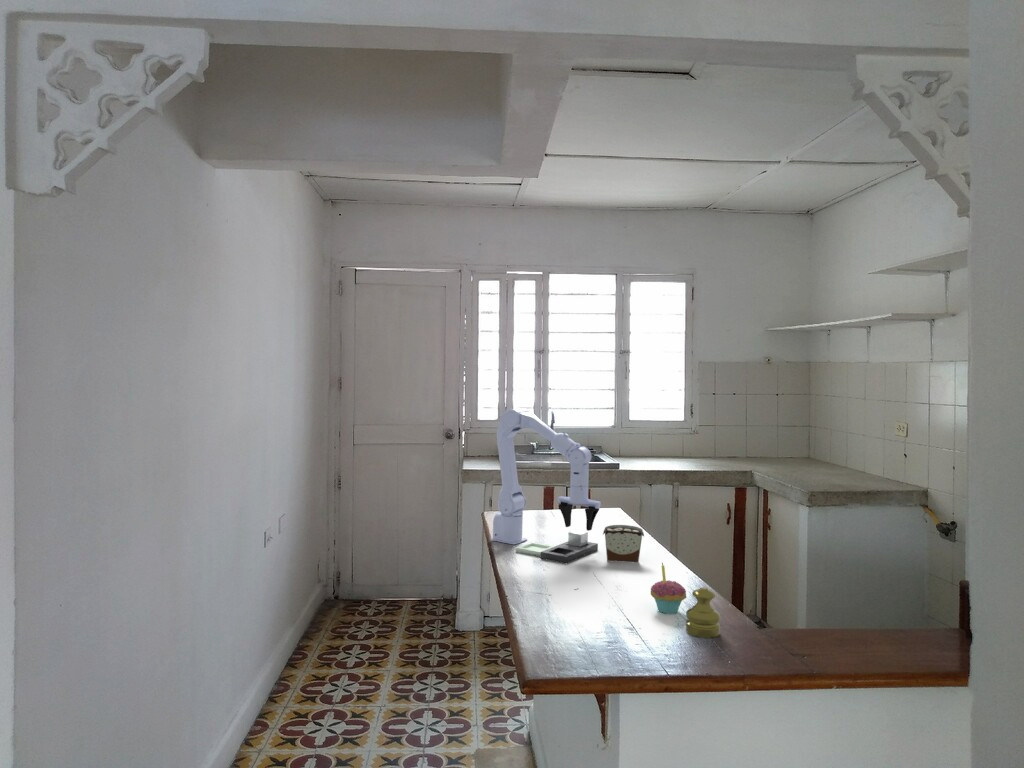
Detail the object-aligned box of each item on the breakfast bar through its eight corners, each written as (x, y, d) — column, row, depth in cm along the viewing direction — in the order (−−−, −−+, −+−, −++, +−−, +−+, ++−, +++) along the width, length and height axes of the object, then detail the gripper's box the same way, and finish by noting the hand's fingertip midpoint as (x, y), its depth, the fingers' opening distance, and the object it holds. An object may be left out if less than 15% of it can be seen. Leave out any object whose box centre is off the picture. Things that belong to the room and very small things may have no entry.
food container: (641, 557, 225) (642, 525, 225) (643, 563, 219) (644, 529, 219) (601, 555, 227) (602, 523, 226) (602, 561, 221) (602, 528, 220)
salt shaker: (714, 641, 159) (715, 596, 158) (681, 634, 162) (682, 589, 162) (724, 631, 165) (725, 587, 164) (691, 624, 169) (693, 581, 168)
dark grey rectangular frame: (540, 558, 222) (540, 551, 222) (573, 545, 238) (573, 539, 238) (566, 563, 217) (566, 556, 217) (597, 549, 233) (597, 543, 233)
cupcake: (665, 618, 172) (666, 568, 172) (642, 607, 180) (643, 559, 179) (693, 613, 176) (694, 564, 176) (670, 602, 184) (671, 555, 183)
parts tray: (516, 551, 229) (516, 547, 229) (531, 546, 236) (531, 541, 236) (540, 556, 224) (540, 552, 224) (555, 550, 231) (555, 546, 231)
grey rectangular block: (568, 551, 231) (568, 532, 231) (575, 548, 235) (575, 529, 235) (580, 553, 229) (581, 534, 228) (587, 550, 232) (587, 532, 232)
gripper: (605, 486, 230) (604, 529, 231) (565, 481, 238) (564, 522, 239) (595, 489, 224) (594, 533, 225) (554, 484, 233) (553, 526, 233)
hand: (578, 528), depth 231 cm, fingers open, 7 cm apart
